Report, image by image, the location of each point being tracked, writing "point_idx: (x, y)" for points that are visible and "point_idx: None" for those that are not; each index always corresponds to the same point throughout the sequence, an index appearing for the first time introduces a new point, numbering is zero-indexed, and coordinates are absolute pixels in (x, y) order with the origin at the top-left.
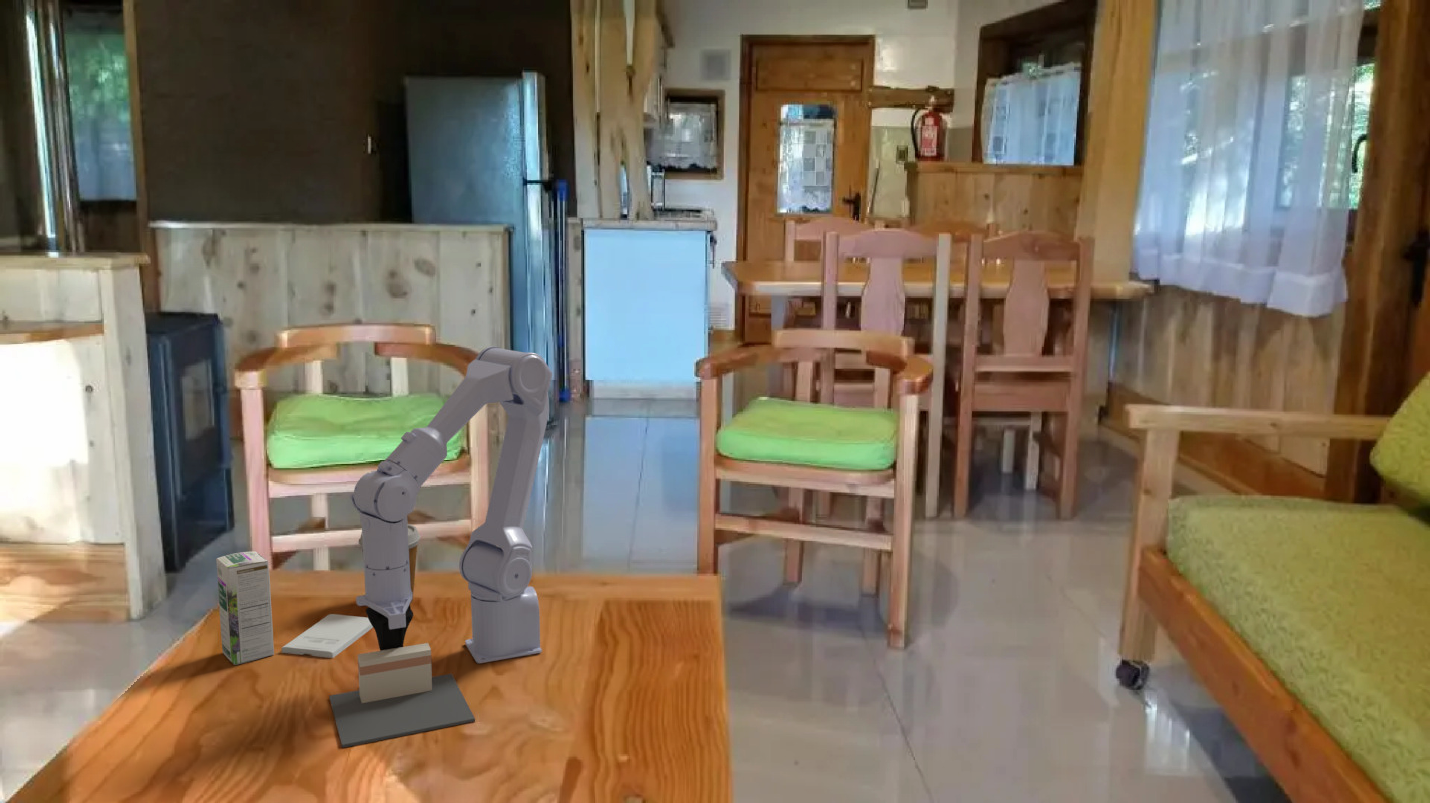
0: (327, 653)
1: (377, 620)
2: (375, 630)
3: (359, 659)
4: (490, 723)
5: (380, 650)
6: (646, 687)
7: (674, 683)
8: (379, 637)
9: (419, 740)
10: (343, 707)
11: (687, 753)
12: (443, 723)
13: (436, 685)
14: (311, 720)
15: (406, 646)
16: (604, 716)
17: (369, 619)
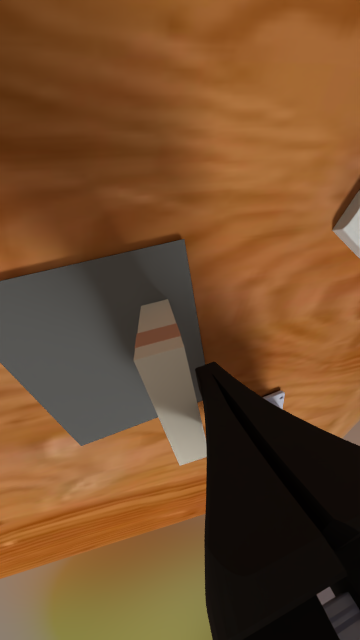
0: (347, 218)
1: (210, 622)
2: (208, 485)
3: (148, 357)
4: (77, 453)
5: (212, 382)
6: (148, 511)
7: (151, 519)
8: (206, 440)
9: (13, 403)
10: (127, 274)
11: (25, 561)
12: (64, 422)
13: None
14: (82, 205)
15: (203, 432)
16: (95, 511)
17: (244, 605)
